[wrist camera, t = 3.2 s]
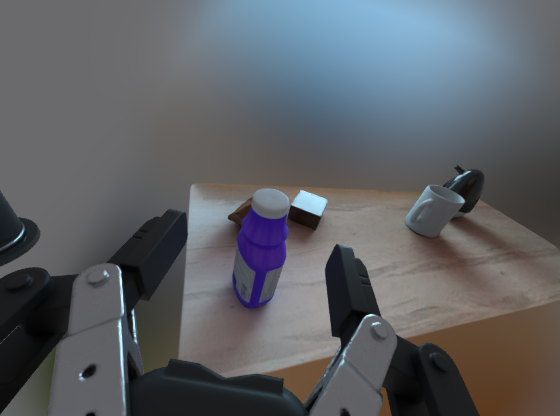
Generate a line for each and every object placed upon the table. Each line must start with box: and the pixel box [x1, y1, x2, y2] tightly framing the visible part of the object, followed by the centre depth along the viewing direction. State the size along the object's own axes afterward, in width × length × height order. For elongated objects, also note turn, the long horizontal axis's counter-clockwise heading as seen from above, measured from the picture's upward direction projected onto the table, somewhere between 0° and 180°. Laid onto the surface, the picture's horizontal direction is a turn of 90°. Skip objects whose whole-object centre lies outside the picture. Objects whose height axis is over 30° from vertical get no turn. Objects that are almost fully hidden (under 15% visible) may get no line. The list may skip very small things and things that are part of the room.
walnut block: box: [287, 190, 328, 230], centre depth 50 cm, size 7×8×4 cm
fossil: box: [228, 197, 290, 225], centre depth 44 cm, size 13×8×10 cm
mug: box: [405, 185, 465, 237], centre depth 54 cm, size 12×8×11 cm
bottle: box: [233, 189, 289, 308], centre depth 28 cm, size 7×6×17 cm
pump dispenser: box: [442, 165, 485, 217], centre depth 64 cm, size 10×10×15 cm
